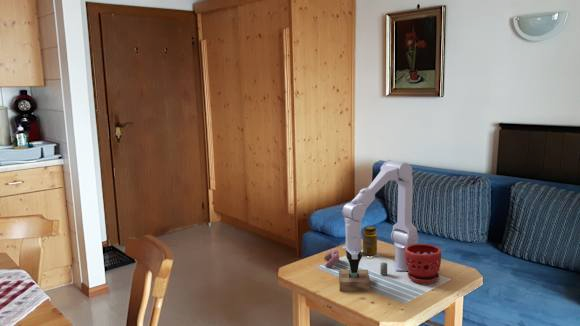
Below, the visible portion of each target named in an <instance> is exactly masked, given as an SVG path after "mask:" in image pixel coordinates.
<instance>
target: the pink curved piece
mask: <svg viewBox="0 0 580 326" xmlns="http://www.w3.org/2000/svg"><path fill="white" fill-rule="evenodd" d="M324 260H325V261H327V262H326V263H325V264H324V265H325V268H326V269H329V268H332V267H333V266H335V265H336V264H337V263H338V262H340V260H341V259H340V255H339V250H338V249H337V248H335V249H334V248H332V249H331V250H330V251H329V252H328V253H327V254H325V255H324Z"/></svg>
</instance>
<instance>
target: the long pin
mask: <svg viewBox="0 0 580 326" xmlns="http://www.w3.org/2000/svg"><path fill="white" fill-rule="evenodd" d="M349 270H350V273H351V269H350V268H349ZM351 278H358V271H357V273H351Z"/></svg>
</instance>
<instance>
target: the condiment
mask: <svg viewBox="0 0 580 326" xmlns="http://www.w3.org/2000/svg"><path fill="white" fill-rule="evenodd" d="M360 255H362V258H366V259H369V260H370V259H373V258H374V257H377V256H378V255H381V252H378V234H377V227H376V226H374V225H373V226H372V225H366V226H364V227H363V233H362V251H361V253H360ZM367 256H369V257H367ZM371 256H373V257H371Z"/></svg>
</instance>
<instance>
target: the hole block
mask: <svg viewBox="0 0 580 326" xmlns="http://www.w3.org/2000/svg"><path fill="white" fill-rule="evenodd" d="M338 284H339V285H338V286H339V287H338V288H339V292H370V291H371V279H370V274H369V269H358V278H351V273H350V269H339V270H338Z"/></svg>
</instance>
